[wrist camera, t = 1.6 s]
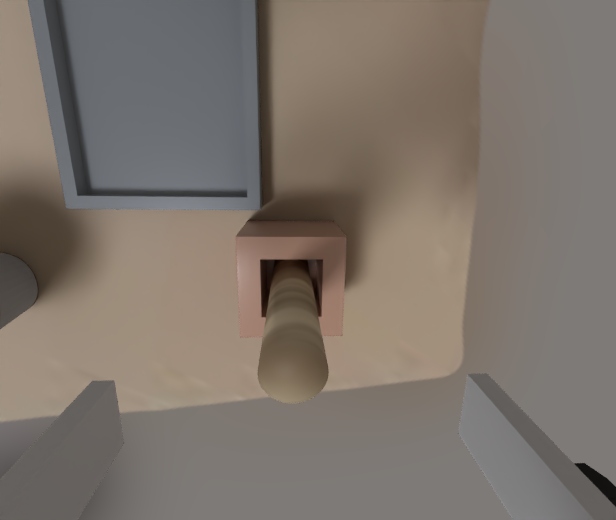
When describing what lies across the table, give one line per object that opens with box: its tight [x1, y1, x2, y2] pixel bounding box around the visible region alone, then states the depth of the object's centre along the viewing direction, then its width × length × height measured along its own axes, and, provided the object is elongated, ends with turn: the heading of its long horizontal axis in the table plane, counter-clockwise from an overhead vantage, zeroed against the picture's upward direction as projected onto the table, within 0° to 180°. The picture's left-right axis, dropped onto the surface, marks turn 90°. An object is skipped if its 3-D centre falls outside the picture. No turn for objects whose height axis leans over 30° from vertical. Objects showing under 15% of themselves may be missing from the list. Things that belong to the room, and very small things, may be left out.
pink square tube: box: [236, 220, 347, 337], centre depth 27 cm, size 8×8×7 cm
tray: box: [28, 0, 263, 210], centre depth 24 cm, size 22×15×2 cm
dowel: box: [258, 259, 328, 403], centre depth 22 cm, size 3×3×16 cm
